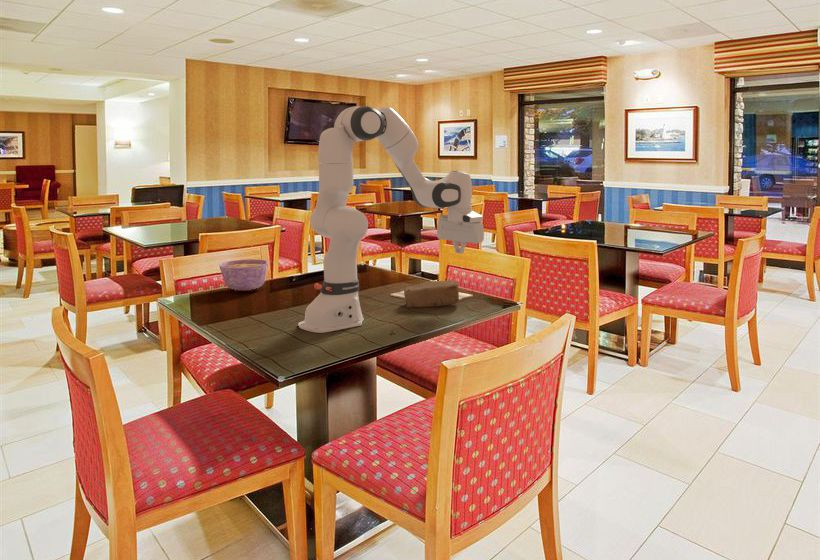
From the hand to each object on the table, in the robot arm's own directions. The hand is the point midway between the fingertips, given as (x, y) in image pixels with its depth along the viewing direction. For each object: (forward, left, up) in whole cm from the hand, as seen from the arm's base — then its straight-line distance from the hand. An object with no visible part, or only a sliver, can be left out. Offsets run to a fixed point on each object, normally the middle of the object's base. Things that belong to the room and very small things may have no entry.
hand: (459, 253), depth 229 cm
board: (0, +15, -19) cm, 24 cm away
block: (-3, -3, -13) cm, 14 cm away
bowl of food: (-43, +82, -19) cm, 94 cm away
